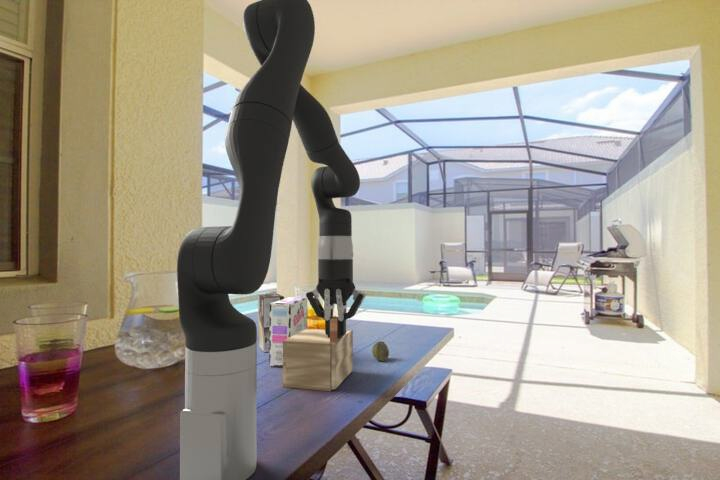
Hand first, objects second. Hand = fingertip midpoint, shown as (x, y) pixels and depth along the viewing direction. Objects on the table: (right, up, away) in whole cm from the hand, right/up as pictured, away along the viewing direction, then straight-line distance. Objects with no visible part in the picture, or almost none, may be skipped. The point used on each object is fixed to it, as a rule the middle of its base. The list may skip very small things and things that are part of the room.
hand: (335, 337), depth 87 cm
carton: (-5, -11, +6) cm, 14 cm away
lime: (+11, -12, +22) cm, 27 cm away
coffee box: (-22, -12, +36) cm, 43 cm away
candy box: (-14, -12, +22) cm, 29 cm away
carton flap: (+1, -11, +5) cm, 12 cm away
